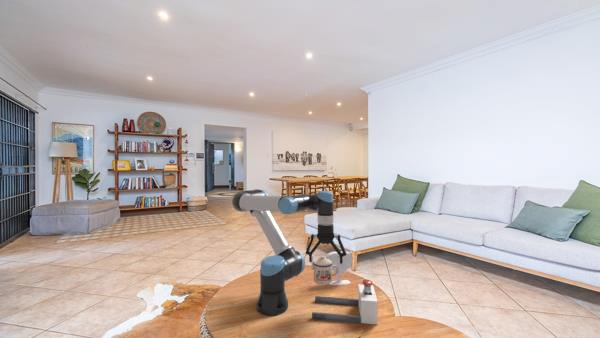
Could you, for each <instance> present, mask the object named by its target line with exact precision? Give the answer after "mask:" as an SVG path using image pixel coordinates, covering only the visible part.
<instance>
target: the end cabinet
mask: <svg viewBox="0 0 600 338" xmlns="http://www.w3.org/2000/svg"><path fill="white" fill-rule="evenodd" d="M357 290H358V295H357V296H358V298H357V299H358V300H359V305H358V311H359V316H361V323H360V324H366V325H367V324H369V325H378V312H379V311H378V309H379V308H378V303H379V302H378V299H377V298H378V297H377V294H376V291H375V288H374V285H373V284H372V285H371V295H364V285H363V284H359V283H358V289H357Z"/></svg>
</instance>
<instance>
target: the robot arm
mask: <svg viewBox="0 0 600 338" xmlns="http://www.w3.org/2000/svg"><path fill="white" fill-rule="evenodd" d="M231 199H232V200H231V204H232V207H233V209H234V210H236V211H237V212H249V213H250V215H251V217H254V218H256V220H257V222H258V225H259V227H260V228H261V230H262V231H263V234H264V235H265V237H266V239H267V241H268V243H269V244H270V246H271V248H272V250H273V252H274V255H269V256H267V257H265V258H263V259H262V260H261V263H260V269H259V272H260V276H259V277H260V279H259V280H260V281H259V282H260V283H259V284H260V292H259V295H258V298H257V301H256V310H257V311H258V313H260V314H262V315H265V316H278V315H280V314H283V313H285V312H286V311H287V310H288V309H289V299H288V297H287V295H286V291H285V284H286V283H285V282H287V281H288V280H290V279H293V278H294V277H298V276H299V275H300V274H301V273H303V272H304V270H305V268H306V258H305V257H304V254H305V255H308V258H309V260H308V261H309V263H311V270H312V271H314V264H313V262H314V260H315V258H314V257H315V255H314V253H315V251H316V250H317V248H318V247H319V246H320V245H321V244H322V245H325V244H326V245H329V244H330V245H331V246H332V248H333V249H334V250H335V252H337V253H338V271H340V264H342V257H343V256H346V252H347V250H346V248H345V247H344V244H343V241H342V240H341V234H335V232H334V229H335V228H334V202H335V201H334V193H333V192H332V191H330V190H319V191H317V194H307V193H301V194H298V195H294V196H286V195H285V196H284V195H283V196H282V195H269V194H268V192H267V191H265V190H264V189H258V188H257V189H251V190H250V189H249V190H240V191H238V192H236V193H234V195H233V197H232V198H231ZM304 211H315V212H316V211H317V213H316V214H317V223H318V224H317V234H314V233H311V235H310V241H309V243H308V245H307V248H306V250H305V252H304V254H303V253H302V252H301V251H299V250H295V247H294V246H293V245H290V244H289V243H288V241H287V239H286V237H285V236H284V234H283V232H282V230H281V228H280V227H279V224H278V223H277V221H276V219H275V218H274V216H273V214H272V213H271V212H276V213H282V214H283V215H291V214H292V215H293V214H295V213H299V212H304ZM316 238H317V240H318V241H317V242H316V243H315V245H314V246H313V248H311V247H312V244H313V243H314V241H315V239H316ZM334 239H336V240H337V243H338V245H339V247H338V246H337V244H336V243H335V241H334ZM339 248H340V249H341V250H340V249H339ZM310 249H311V250H310ZM341 251H342V252H343V253H341Z"/></svg>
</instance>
